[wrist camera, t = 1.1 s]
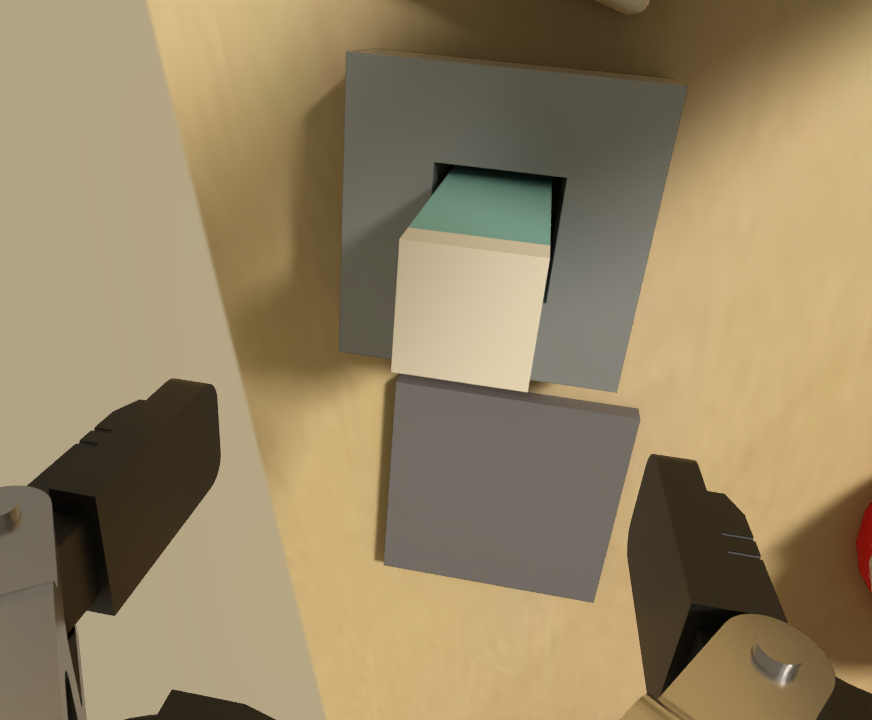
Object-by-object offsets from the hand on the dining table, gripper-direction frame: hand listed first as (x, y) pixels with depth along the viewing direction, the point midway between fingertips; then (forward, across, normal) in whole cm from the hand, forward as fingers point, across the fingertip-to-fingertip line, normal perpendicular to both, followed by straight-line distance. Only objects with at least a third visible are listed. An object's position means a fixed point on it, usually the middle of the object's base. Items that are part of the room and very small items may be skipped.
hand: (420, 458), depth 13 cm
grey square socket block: (+20, 0, 0) cm, 20 cm away
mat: (+20, -2, +15) cm, 25 cm away
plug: (+20, 0, 0) cm, 20 cm away
